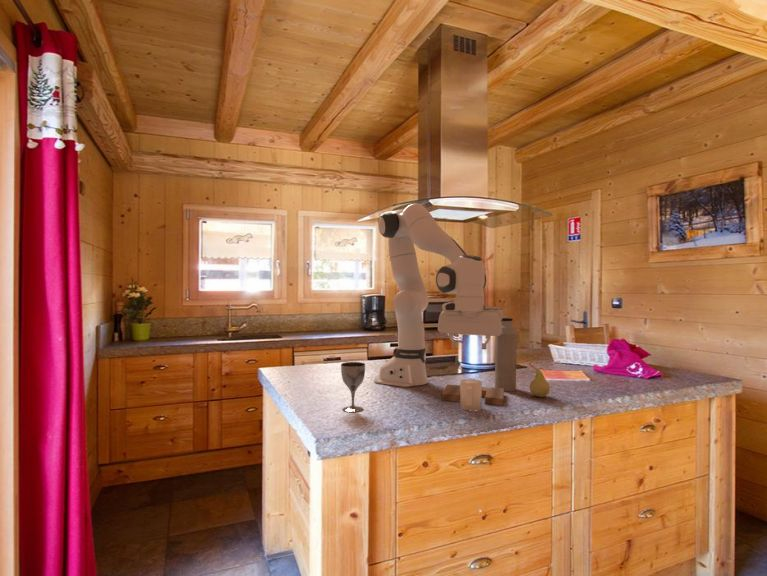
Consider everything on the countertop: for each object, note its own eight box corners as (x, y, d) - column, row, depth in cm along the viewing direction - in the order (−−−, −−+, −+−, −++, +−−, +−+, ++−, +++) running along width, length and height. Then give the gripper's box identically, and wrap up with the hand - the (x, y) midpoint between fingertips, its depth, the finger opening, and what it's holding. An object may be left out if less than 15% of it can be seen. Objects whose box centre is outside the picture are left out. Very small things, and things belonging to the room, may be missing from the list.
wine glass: (340, 406, 149) (341, 362, 148) (364, 405, 149) (364, 361, 149) (340, 413, 141) (340, 366, 140) (365, 412, 141) (365, 366, 141)
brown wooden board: (441, 400, 156) (441, 393, 156) (447, 390, 170) (447, 384, 170) (502, 405, 151) (503, 398, 151) (503, 395, 164) (503, 388, 164)
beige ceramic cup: (461, 403, 153) (461, 377, 152) (482, 405, 151) (482, 379, 150) (457, 413, 142) (458, 385, 142) (479, 415, 140) (480, 387, 140)
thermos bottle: (514, 387, 176) (515, 317, 175) (516, 392, 168) (517, 319, 168) (494, 385, 178) (495, 316, 177) (495, 390, 170) (496, 318, 169)
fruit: (547, 400, 157) (547, 367, 157) (526, 397, 161) (526, 364, 161) (551, 396, 163) (551, 364, 163) (530, 393, 167) (531, 361, 167)
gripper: (503, 305, 141) (502, 348, 142) (440, 303, 147) (439, 345, 147) (503, 307, 135) (502, 351, 136) (437, 304, 141) (436, 347, 141)
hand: (469, 348), depth 142 cm, fingers open, 8 cm apart
